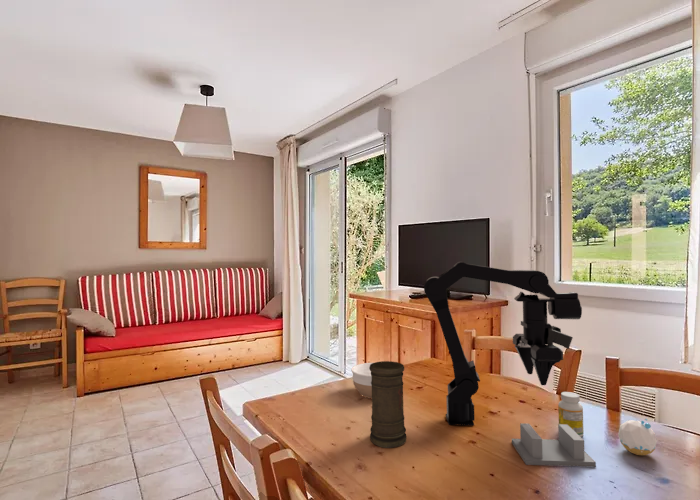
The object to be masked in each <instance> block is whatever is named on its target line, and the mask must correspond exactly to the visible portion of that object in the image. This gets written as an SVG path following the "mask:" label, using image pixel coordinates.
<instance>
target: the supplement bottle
mask: <svg viewBox="0 0 700 500" xmlns="http://www.w3.org/2000/svg"><path fill="white" fill-rule="evenodd" d="M560 399H561V400H560V401H559V402H558V424H567V425H568V426H569V427H571V428H572V429H573V430H574V431H575V432H576V433H577V434H578V435H579V436H580V437H581V438H582V437H583V436H584V407H583V405H582V404H581V403H580V401H581V400H580V399H581V398H580V394H578V393H575V392H571V391H562V392H561V393H560Z"/></svg>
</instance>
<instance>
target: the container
mask: <svg viewBox="0 0 700 500" xmlns="http://www.w3.org/2000/svg"><path fill="white" fill-rule="evenodd" d="M371 363H372V364H371V365H370V368H369V369H370V371H371V376H372V381H371V385H372V399H371V426H370V434H369V438H370V441H371V443H372V444H373V445H374V446H375V445H376V446H378V447H379V448H380V447H381V448H387V449H388V448H389V449H390V448H397V447H400V446H403V445H404V444H405V443H406V441H407V439H408V438H407V437H408V436H407V434H406V432H407V429H406V427H405V415H404V413H405V412H404V411H405V410H404V380H403V376H404V371H405V366H404V364H402V363H400V362H397V361H391V360H383V361H376V362H371Z"/></svg>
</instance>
